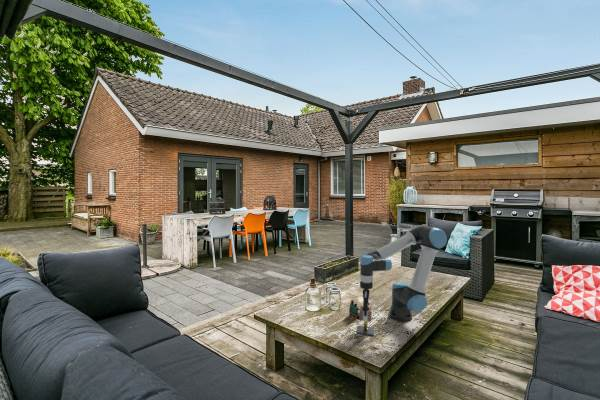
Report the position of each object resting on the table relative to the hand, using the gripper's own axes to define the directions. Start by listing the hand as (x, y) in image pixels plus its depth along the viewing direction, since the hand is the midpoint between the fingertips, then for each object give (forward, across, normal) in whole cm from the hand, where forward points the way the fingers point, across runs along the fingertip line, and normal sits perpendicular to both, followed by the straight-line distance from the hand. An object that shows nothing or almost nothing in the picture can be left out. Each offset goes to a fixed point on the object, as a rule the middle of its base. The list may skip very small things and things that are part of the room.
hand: (365, 317), depth 187 cm
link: (0, 0, 0) cm, 0 cm away
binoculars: (+9, -20, -7) cm, 23 cm away
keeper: (+9, 0, 0) cm, 9 cm away
